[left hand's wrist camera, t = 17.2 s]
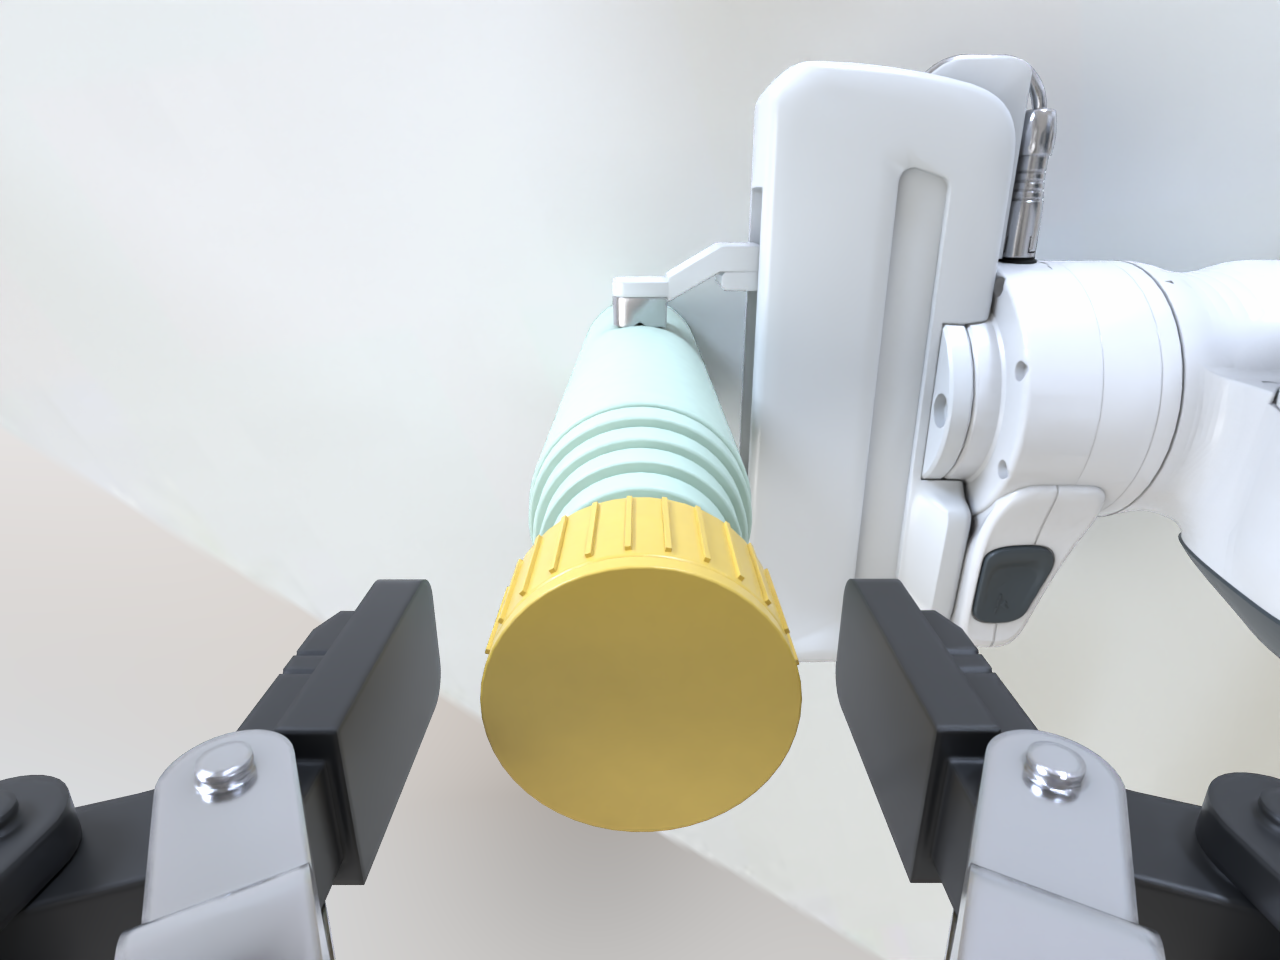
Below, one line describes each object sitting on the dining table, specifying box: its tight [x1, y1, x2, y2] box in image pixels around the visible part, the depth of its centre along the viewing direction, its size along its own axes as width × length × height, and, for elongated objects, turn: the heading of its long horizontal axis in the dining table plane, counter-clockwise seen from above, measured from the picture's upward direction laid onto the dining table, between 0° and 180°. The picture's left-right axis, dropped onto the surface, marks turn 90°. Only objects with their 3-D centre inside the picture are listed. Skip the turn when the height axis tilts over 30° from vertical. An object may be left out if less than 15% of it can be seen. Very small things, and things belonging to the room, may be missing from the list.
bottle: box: [529, 305, 752, 545], centre depth 21 cm, size 5×5×23 cm
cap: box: [480, 496, 802, 832], centre depth 11 cm, size 4×4×2 cm
